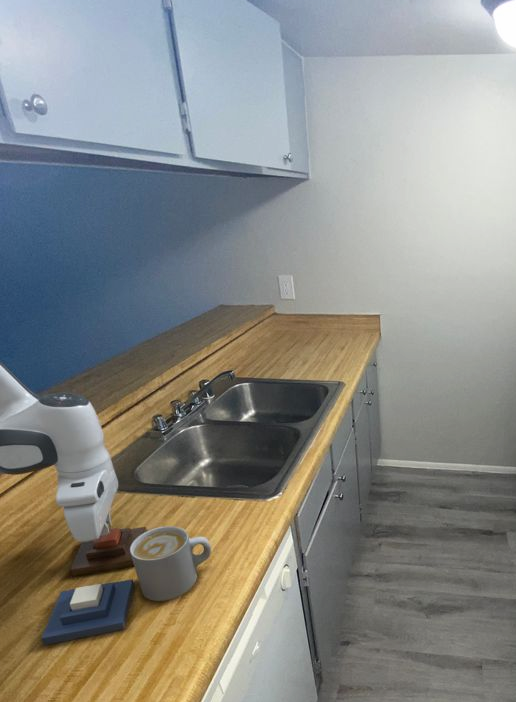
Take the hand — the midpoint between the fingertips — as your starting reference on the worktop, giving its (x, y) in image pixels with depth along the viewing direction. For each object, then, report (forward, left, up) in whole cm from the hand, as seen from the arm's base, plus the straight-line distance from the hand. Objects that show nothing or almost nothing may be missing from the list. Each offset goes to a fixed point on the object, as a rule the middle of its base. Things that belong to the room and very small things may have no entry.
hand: (106, 531), depth 97 cm
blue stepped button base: (0, -17, -6) cm, 18 cm away
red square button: (0, 0, -3) cm, 3 cm away
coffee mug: (+14, -12, -6) cm, 19 cm away
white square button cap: (0, -17, -3) cm, 17 cm away
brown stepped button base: (0, 0, -6) cm, 6 cm away
